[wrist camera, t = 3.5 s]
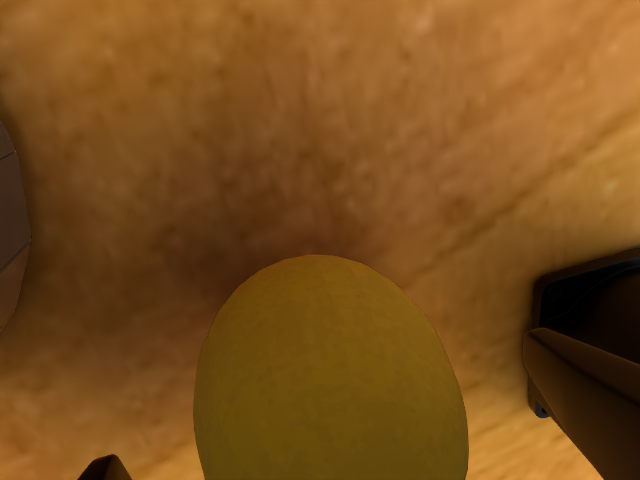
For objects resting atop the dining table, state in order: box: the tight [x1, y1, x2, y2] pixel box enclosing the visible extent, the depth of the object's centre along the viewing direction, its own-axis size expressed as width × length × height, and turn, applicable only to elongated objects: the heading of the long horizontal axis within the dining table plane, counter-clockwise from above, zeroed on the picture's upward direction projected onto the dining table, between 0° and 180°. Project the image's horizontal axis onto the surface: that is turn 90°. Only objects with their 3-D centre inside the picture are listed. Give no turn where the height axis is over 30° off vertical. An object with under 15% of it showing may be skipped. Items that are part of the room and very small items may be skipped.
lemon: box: [193, 254, 469, 480], centre depth 9 cm, size 6×6×8 cm
